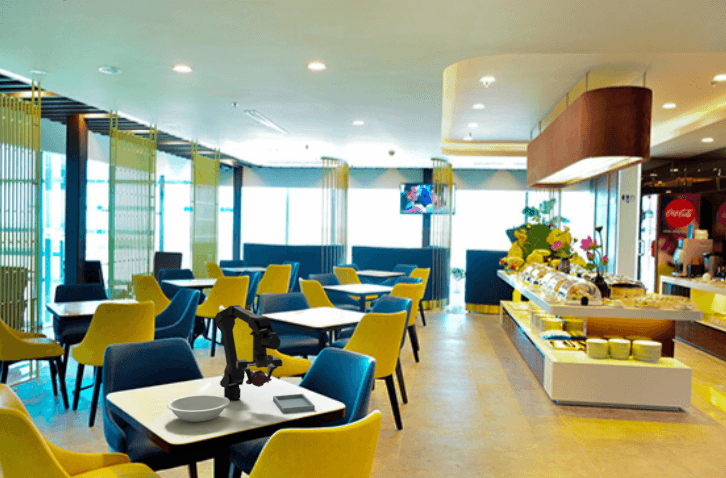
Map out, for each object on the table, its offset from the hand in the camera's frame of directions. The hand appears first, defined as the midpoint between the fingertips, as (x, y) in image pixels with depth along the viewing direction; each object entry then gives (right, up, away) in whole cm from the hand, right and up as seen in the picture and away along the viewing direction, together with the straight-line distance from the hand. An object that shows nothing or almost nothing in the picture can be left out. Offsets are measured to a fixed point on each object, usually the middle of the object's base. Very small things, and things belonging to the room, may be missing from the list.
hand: (259, 383), depth 241 cm
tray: (+14, -11, +5) cm, 18 cm away
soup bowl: (-21, -11, -15) cm, 28 cm away
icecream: (0, -1, 0) cm, 1 cm away
